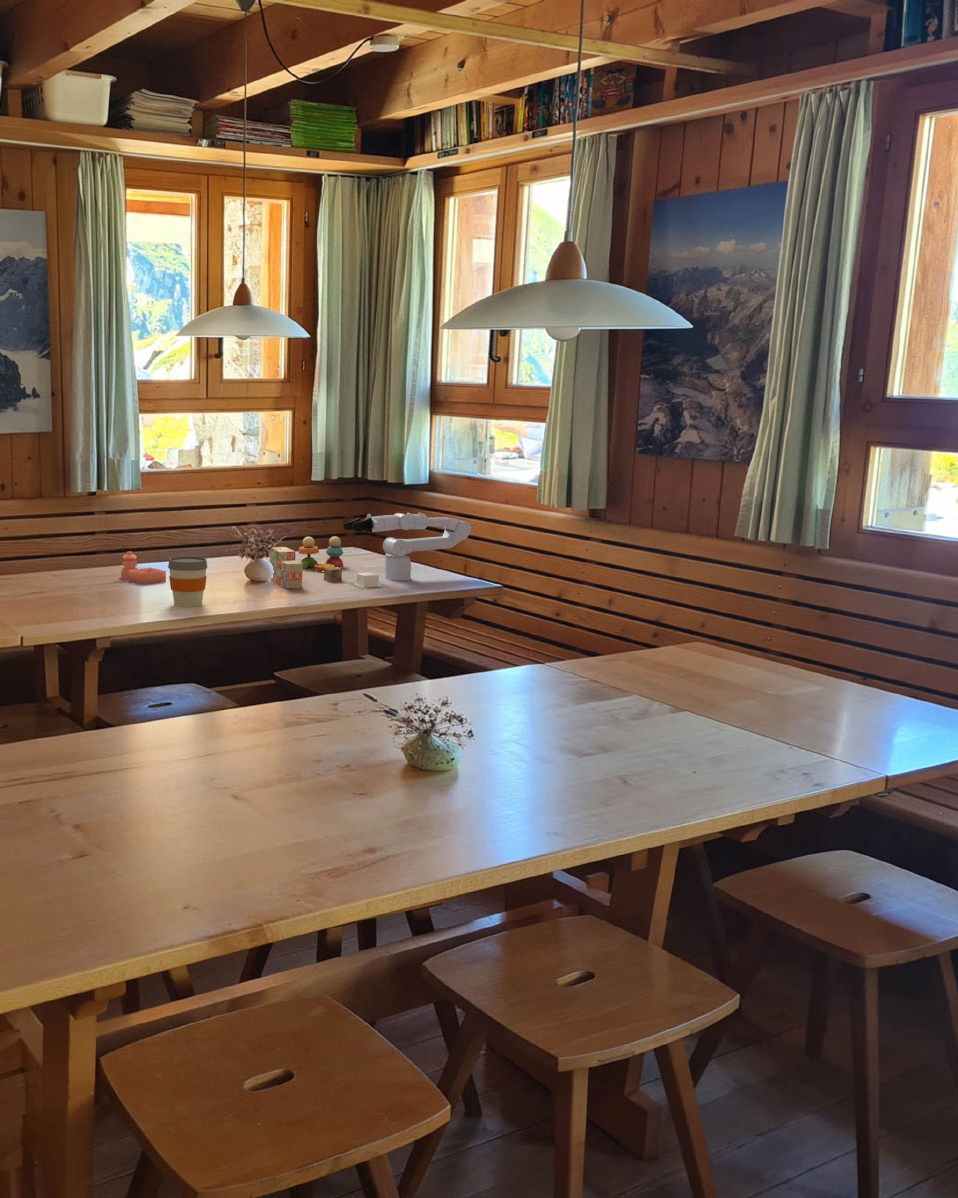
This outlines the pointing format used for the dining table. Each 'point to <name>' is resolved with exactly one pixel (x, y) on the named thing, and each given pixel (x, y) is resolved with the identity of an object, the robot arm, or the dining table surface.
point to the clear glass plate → (367, 586)
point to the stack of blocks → (286, 567)
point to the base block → (367, 579)
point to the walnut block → (332, 574)
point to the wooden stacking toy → (309, 549)
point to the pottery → (140, 572)
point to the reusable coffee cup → (187, 580)
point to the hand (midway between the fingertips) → (348, 526)
